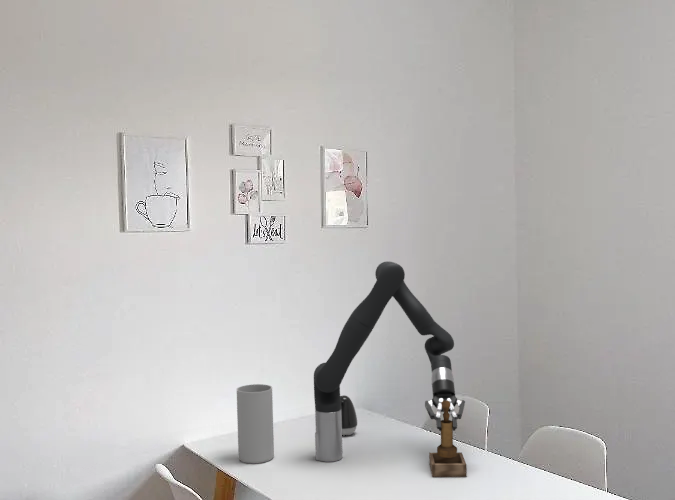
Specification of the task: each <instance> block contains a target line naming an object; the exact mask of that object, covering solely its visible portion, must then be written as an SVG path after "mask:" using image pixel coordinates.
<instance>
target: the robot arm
mask: <svg viewBox="0 0 675 500" xmlns="http://www.w3.org/2000/svg"><path fill="white" fill-rule="evenodd" d="M375 279H376V281H375V283H374V285H373V286H372V288H371V291H370V292H369V293H368V295H366V297H365V298H364V299H363V300H362V301H361V302H360V303H359V304H358V305H357V306H356V307H355V309H354V310H353V311H352V312H351V314H350V316H349V317H348V319H347V320H346V322H345V324H344V325H343V327H342V329H341V331H340V333H339V337H338V339H337V342H336V345H335V347H334V349H333V351H332V353H331V354H330V356H329V358H328V359H327V360H326V362H322V363H320V364H318V366H316V367H315V370H314V372H313V396H314V397H313V398H314V415H315V417H314V418H315V432H314V438H315V439H314V445H315V446H314V447H315V449H314V450H315V461H319V462H325V463H327V462H329V463H330V462H337V461H338V462H339V461H340V460H342V459H343V436H342V415H341V398H340V396H341V384H342V383H343V381H344V380H343V379H344V377H345V376H346V373H347V372H348V371H347V370H349V367H350V365H351V364H352V362H353V360H354V359H355V357H356V355H357V354H358V353H359V352H360V350H361V349H362V347H363V345H364V344H365V343H366V341H367V339H368V338H369V336H370V335H371V333H372V331H373V330H374V329H375V326H376V324H377V323H378V320H379V319H380V318H381V315H382V314H383V312H384V310H385V308H386V306H387V305H388V304H389V301H390V300H391V299H392V298H393V299H394V300H395V301H396V303H397V304H398V305H399V306H400V308H401V310H402V311H403V312H404V313H405V315H406V317H407V318H408V320H409V321H410V323H411V324H412V325H413V327H414V328H415V330H416V331H417V332H418V333H419V335H420V336H430V337H429V338H427V339H426V341H425V343H424V350H425V352H426V355H427V357H428V359H429V362H430V366H431V367H430V369H431V387H432V388H431V389H432V399H431V400H425V401H424V407H425V410H426V411H427V413H428V415H429V418H430V420H435V423H436V424H435V425H436V429H437V430H438V432H439V431H440V432H441V420H442V418H441V414H442V413H444V410H443V408H442V406H441V403H442V401H444V400H448V401H449V402H450V405H451V406H450V408H449V410H448V413H449V414H450V417H451V421H452V422H453V432H454V431H456V430H457V429H458V420H461V419H462V417H463V413H464V410H465V405H466V401H465V399H462V400H458V398H457V397H456V391H455V388H456V387H455V381H454V375H453V369H452V361H451V359H450V357H449V356H447V355H445V353H447V352H450V351H452V349H454V347H455V340H454V338H453V336H452V335H451V334H450V333H449V332H448V331H447V330H446V329H444V328H443V326H441V325H440V324H438V323H437V322H436V321H435V320H434V318H433V317H432V315H431V314H430V313H429V311H428V310H427V308H426V307H425V306H424V305H423V304H422V303H421V301H420V300H419V299H418V298H417V297H416V296H415V295H414V293H413V292H412V291H411V289H409V287H408V286H407V284H406V281H405V270H404V268H403V266H401V265H400V264H398V263H396V262H393V261H383V262H380V263H379V264H378V266H377V267H376V268H375ZM456 405H457V407H458V409H459V410H458V413H457V412H456V410H455V407H456ZM433 406H434V407H435V408H436V409H437V410H436V413H434V410H433Z"/></svg>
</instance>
